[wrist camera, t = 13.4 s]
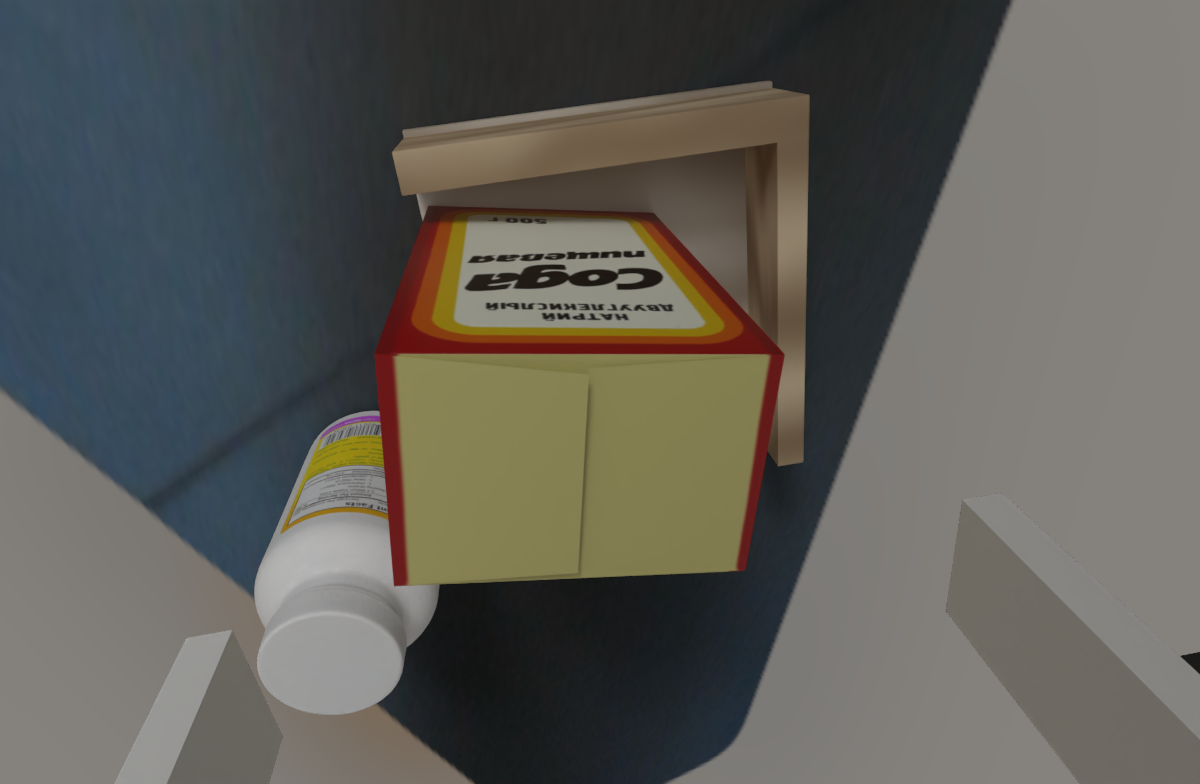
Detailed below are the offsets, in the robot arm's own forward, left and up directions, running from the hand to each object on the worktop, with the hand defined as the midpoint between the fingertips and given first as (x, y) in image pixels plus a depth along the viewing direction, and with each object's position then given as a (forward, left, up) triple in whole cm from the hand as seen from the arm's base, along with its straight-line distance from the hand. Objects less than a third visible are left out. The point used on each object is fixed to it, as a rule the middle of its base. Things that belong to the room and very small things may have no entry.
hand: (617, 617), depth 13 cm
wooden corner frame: (+1, +2, -22) cm, 22 cm away
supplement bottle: (+8, -9, -22) cm, 25 cm away
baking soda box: (0, 0, -21) cm, 21 cm away
